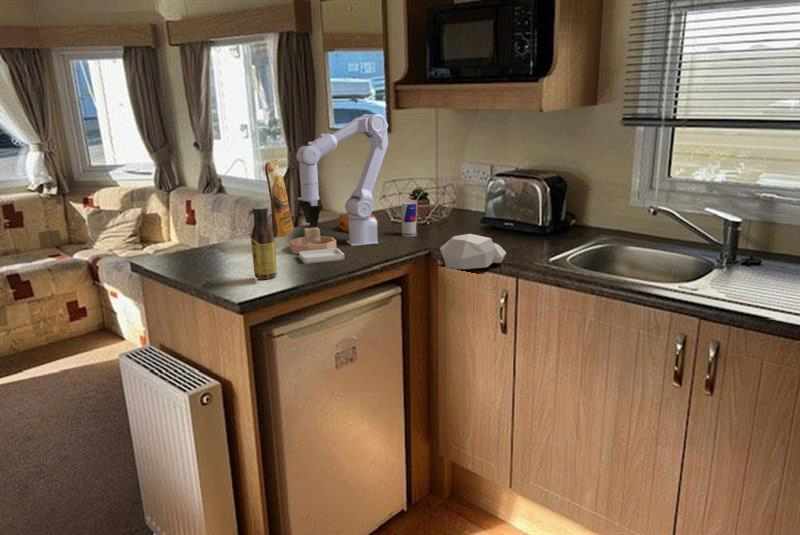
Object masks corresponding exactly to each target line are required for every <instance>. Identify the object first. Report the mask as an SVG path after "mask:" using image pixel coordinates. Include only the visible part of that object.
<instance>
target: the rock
mask: <svg viewBox="0 0 800 535" xmlns="http://www.w3.org/2000/svg"><path fill="white" fill-rule="evenodd" d="M439 250H440V252H441V256H442V257H443V261H444V263H445V268H446V269H456V270H471V269H481V268H482V269H483V268H488V267H489V266H490V265H492V264H495V263H496V264H499V263H500V264H501V263H502V262H503V260H504V259H505V256H506V255H507V251H505V249H504V248H503V247H502V246H501V245H500V244H498V243H496V242H493V239H492V238H491V237H486V236H482V235H479V234H478V235H477V234H473V233H467V234H460V235H454V236H452V237H451V238H450V239H449V240H447V241H446V242H445V243H444V244H443V245H441V247H439Z"/></svg>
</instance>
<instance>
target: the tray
mask: <svg viewBox="0 0 800 535" xmlns="http://www.w3.org/2000/svg"><path fill="white" fill-rule="evenodd" d="M345 256H346V255H345V253H344V252H342V250H340V248H338V247H337V248H332V249H322V250H311V251H300V252H299V254H298V258H299V259H300V260H301V262H302V263H303V264H304V265H307V264H309V265H310V264H317V263H318V264H319V263H327V262H329V263H330V262H338V261H345V260H346V259H345V258H346V257H345Z"/></svg>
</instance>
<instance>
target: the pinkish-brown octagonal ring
mask: <svg viewBox="0 0 800 535" xmlns="http://www.w3.org/2000/svg"><path fill="white" fill-rule="evenodd" d="M320 239H321V244H317V245H305V236H302V237H298V238H293V239H291V240H289V250H290V252H292V254H295V255H299V252H300V251H311V250H322V249H332V248H338V247H337V240H336V239H335V238H334V237H333V236H325V235H324V236H323V235H320Z"/></svg>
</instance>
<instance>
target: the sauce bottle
mask: <svg viewBox="0 0 800 535" xmlns="http://www.w3.org/2000/svg"><path fill="white" fill-rule="evenodd" d="M268 208H269V207H267V206H263V205H262V206H253V207H252V213H253V227H252V231H251V233H250V242H251V254H252V263H253V264H252V266H253V273H254V277H255V279H258V280H272V279H274V278H276V277H277V275H278V273H277V272H278V271H277V270H278V269H277V256H276V244H275V239H274V238H275V237H274V233H273V228H272V226H271V225H270V224H269V216H268V214H269V209H268Z"/></svg>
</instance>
